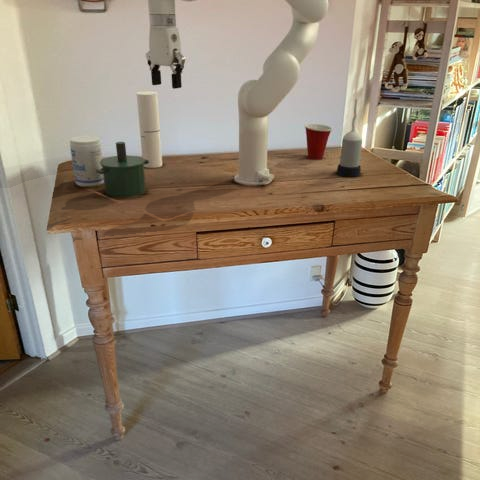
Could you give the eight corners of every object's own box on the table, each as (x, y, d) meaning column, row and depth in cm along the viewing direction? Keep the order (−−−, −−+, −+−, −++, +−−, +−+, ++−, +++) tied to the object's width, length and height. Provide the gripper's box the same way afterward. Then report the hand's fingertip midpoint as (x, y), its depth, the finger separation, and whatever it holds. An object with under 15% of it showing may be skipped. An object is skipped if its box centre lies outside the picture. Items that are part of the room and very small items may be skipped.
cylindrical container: (158, 168, 192) (153, 95, 179) (140, 167, 193) (133, 94, 180) (164, 163, 198) (160, 91, 185) (146, 162, 199) (141, 91, 186)
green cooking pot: (160, 190, 169) (158, 161, 164) (113, 203, 158) (109, 172, 153) (137, 182, 177) (134, 153, 172) (90, 194, 166) (86, 164, 161)
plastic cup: (331, 161, 202) (334, 128, 195) (303, 161, 202) (306, 128, 195) (328, 154, 211) (331, 123, 205) (301, 154, 211) (303, 122, 205)
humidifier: (337, 170, 191) (344, 96, 178) (360, 171, 190) (369, 97, 177) (336, 176, 184) (344, 100, 171) (359, 177, 183) (369, 101, 170)
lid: (153, 164, 163) (151, 142, 159) (116, 173, 155) (114, 150, 151) (128, 156, 171) (125, 135, 168) (91, 164, 163) (88, 142, 159)
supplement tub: (69, 185, 173) (62, 140, 165) (87, 178, 180) (80, 134, 173) (94, 189, 170) (87, 142, 162) (111, 181, 177) (105, 136, 170)
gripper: (192, 22, 147) (194, 88, 156) (154, 20, 158) (158, 82, 166) (171, 23, 143) (175, 90, 152) (134, 21, 153) (139, 84, 162)
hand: (166, 86), depth 159 cm, fingers open, 9 cm apart
